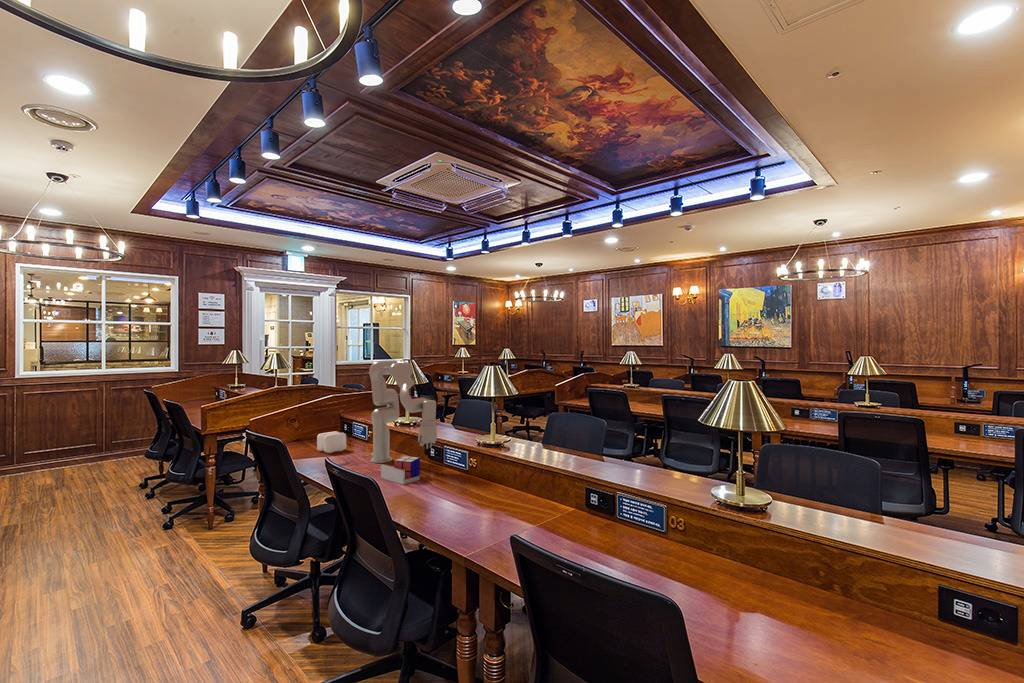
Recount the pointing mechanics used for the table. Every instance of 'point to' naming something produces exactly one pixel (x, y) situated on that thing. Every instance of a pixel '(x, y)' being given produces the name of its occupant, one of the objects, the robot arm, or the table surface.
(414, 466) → the puzzle cube
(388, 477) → the aluminium dock
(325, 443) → the cable organizer
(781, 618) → the table surface
